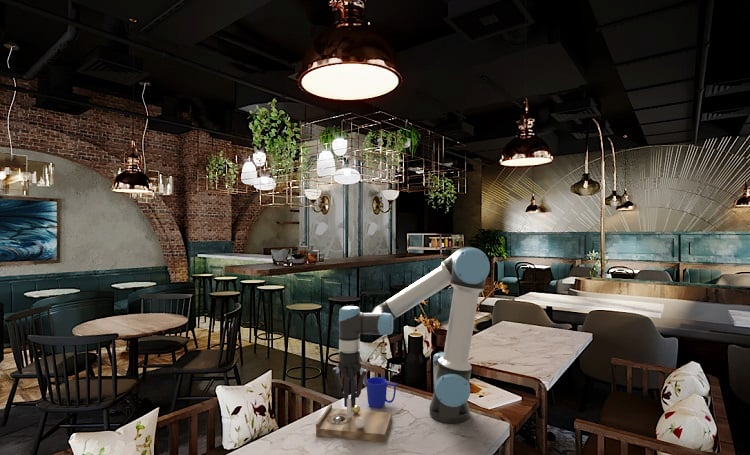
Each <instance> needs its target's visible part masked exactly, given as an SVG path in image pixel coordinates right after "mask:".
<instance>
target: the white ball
mask: <svg viewBox="0 0 750 455" xmlns="http://www.w3.org/2000/svg"><path fill="white" fill-rule="evenodd" d="M355 425H356V427H357V428H359V429H361V428H363V427H364V426H365V420H364V419H363V418H361V417H359V418H357V419H356V421H355Z"/></svg>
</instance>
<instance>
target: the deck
mask: <svg viewBox="0 0 750 455" xmlns="http://www.w3.org/2000/svg"><path fill="white" fill-rule="evenodd" d="M335 417H340V418H341V419H342V422H335V421H333V420H334V418H335ZM359 417H361V418H363V419H364V420H365V426H364V427H363V428H361V429H359V428H357V427H356V425H355V421H356V419H357V418H359ZM392 421H393V413H392V412H385V411H383V412H382V411H373V410H372V411H368V410H360V412H359V413H358V414H354V413H353V415H352V417H351V418H348V417H347V408H346V409H345V408H334V407H333V404H332V403H331V404H328V406H327V408H326V409H325V411H324V412H323V413H322V415H321V417H320V418H319V419H318V421H317V422H316V423H315V436H316V437H327V438H338V439H349V440H358V441H359V440H360V441H361V440H362V441H371V442H380V443H381V442H383V443H385V442H386V439H387V436H388V433H389V430H390V427H391V424H392Z"/></svg>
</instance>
